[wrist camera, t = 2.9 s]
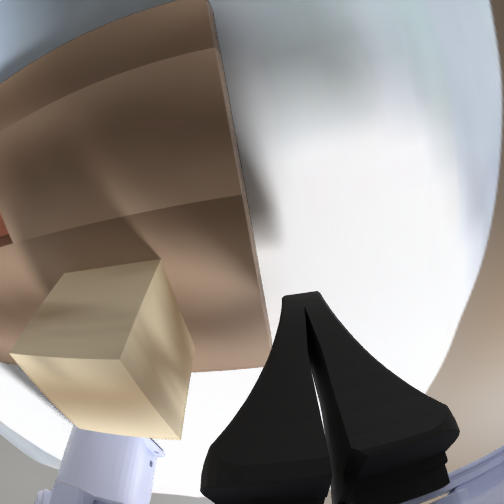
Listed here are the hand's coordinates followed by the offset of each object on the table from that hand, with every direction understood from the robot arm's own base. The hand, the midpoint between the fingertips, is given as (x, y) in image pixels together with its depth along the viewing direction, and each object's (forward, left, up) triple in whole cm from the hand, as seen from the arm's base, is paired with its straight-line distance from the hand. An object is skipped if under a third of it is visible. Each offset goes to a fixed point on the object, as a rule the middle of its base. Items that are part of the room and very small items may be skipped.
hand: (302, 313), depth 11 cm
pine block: (0, +7, -1) cm, 8 cm away
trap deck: (+4, +19, -3) cm, 20 cm away
